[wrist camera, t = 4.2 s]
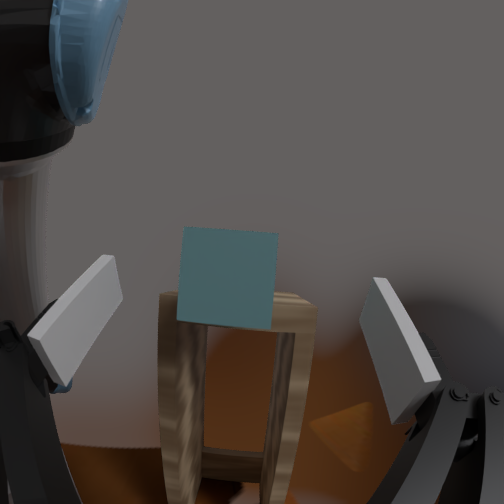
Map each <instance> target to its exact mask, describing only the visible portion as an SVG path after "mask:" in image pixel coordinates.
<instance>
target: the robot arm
mask: <svg viewBox="0 0 504 504" xmlns="http://www.w3.org/2000/svg"><path fill="white" fill-rule="evenodd" d="M127 4H128V0H0V504H9V497H8V483H9V487H10V491H11V495H12V499H13V503H14V504H81V501H80V499H79V497H78V494H77V492H76V489H75V487H74V484H73V481H72V479H71V476H70V473H69V470H68V467H67V464H66V461H65V458H64V455H63V451H62V448H61V444H60V441H59V437H58V433H57V429H56V425H55V421H54V416H53V411H52V406H51V401H50V395H49V393H51V394H55V393H66V392H68V391H70V389H71V387H72V377H73V375H74V373H75V371H76V370H77V368H78V366H79V365H80V363H81V362H82V360H83V358H84V357H85V355H86V354H87V352H88V350H89V349H90V347H91V346H92V344H93V342H94V341H95V340H96V338H97V337H98V335H99V333H100V332H101V330H102V329H103V327H104V326H105V325H106V323H107V321H108V320H109V319H110V317H111V316H112V314H113V313H114V311H115V310H116V308H117V307H118V305H119V304H120V303H121V301H122V300H123V297H122V293H121V287H120V283H119V278H118V273H117V268H116V262H115V257H114V256H111V255H102V256H101V257H100V258H99V259H98V260H96V261H95V262H94V263H93V264H92V265H91V266H90V267H89V268H88V269H87V270H86V271H85V272H84V273H83V274H82V275H81V276H80V277H79V278H78V279H77V280H76V281H75V282H74V284H72V285H71V287H70V288H69V289H68V290H67V291H66V292H65V293H64V294H63V295H62V296H61V297H60V298H59V299H56V300H54V301H53V302H51V303H50V304H49V299H48V289H47V275H46V241H45V240H46V211H47V196H48V185H49V176H50V169H51V162H52V158H53V157H54V156H55V155H56V154H58V153H59V152H61V151H62V150H63V149H64V148H66V147H67V146H68V145H69V144H70V143H71V141H72V138H73V134H74V129H75V126H81V125H82V124H88V123H90V122H91V121H92V120H93V119H94V117H95V115H96V112H97V110H98V107H99V103H100V100H101V96H102V91H103V87H104V83H105V81H106V78H107V74H108V71H109V67H110V64H111V60H112V57H113V53H114V49H115V46H116V42H117V39H118V35H119V32H120V29H121V25H122V22H123V18H124V15H125V11H126V8H127ZM359 322H360V325H361V328H362V330H363V333H364V336H365V339H366V342H367V345H368V348H369V351H370V354H371V357H372V360H373V363H374V366H375V369H376V372H377V375H378V379H379V382H380V385H381V388H382V392H383V395H384V399H385V402H386V405H387V409H388V413H389V416H390V420H391V424H392V425H393V424H399V423H404V422H408V421H409V420H410V419H411V417H412V416H413V415H414V414H415V416H416V419H417V421H416V422H415V423H414V424H413V426H411V427H410V429H408V431H407V432H406V433H405V435H407V434H408V433H409V432H410V433H409V435H408V437H407V439H406V441H405V442H404V445H403V446H402V448H401V450H400V452H399V454H398V455H397V457H396V459H395V461H394V462H393V464H392V466H391V468H390V469H389V471H388V473H387V474H386V476H385V477H384V479H383V481H382V482H381V484H380V485H379V487H378V488H377V490H376V491H375V493H374V494H373V496H372V497H371V498H370V500H369V501H368V502H367V504H434V503H435V501H436V499H437V497H438V495H439V492H440V490H441V488H442V490H441V494H440V498H439V502H438V504H504V394H503V392H502V391H501V390H500V389H499V388H497V387H495V386H490V387H488V388H486V390H485V391H484V392H483V393H482V394H474V393H469V391H468V389H467V388H466V387H465V386H464V385H463V384H461V383H459V382H453V380H452V378H451V376H450V374H449V372H448V370H447V368H446V366H445V364H444V362H443V360H442V358H441V357H440V354H439V352H438V351H437V350H436V347H435V345H434V343H433V341H432V340H431V339H430V338H429V337H428V336H427V335H426V334H425V333H418V332H417V330H416V328H415V327H414V325H413V323H412V321H411V319H410V317H409V316H408V314H407V312H406V311H405V309H404V307H403V305H402V304H401V302H400V300H399V299H398V297H397V295H396V293H395V292H394V290H393V289H392V287H391V285H390V284H389V282H388V280H387V279H386V278H373V279H372V282H371V285H370V289H369V292H368V295H367V298H366V301H365V304H364V307H363V310H362V313H361V316H360V319H359ZM477 434H478V440H477ZM7 479H8V480H7Z"/></svg>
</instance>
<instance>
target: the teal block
mask: <svg viewBox="0 0 504 504" xmlns="http://www.w3.org/2000/svg"><path fill="white" fill-rule="evenodd" d="M277 246H278V233H266V232H254V231H239V230H225V229H212V228H197V227H184V231H183V241H182V252H181V263H180V274H179V288H178V303H177V320H180V321H188V322H196V323H204V324H213V325H223V326H233V327H244V328H256V329H270V330H271V320H272V309H273V298H274V285H275V273H276V260H277Z"/></svg>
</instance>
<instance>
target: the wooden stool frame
mask: <svg viewBox="0 0 504 504" xmlns="http://www.w3.org/2000/svg"><path fill="white" fill-rule="evenodd" d="M177 303H178V290H175V291H170V292H165V293H161V294H160V296H159V317H158V404H159V425H160V439H161V451H162V461H163V471H164V479H165V487H166V494H167V500H168V504H195V500H196V497H197V493H198V490H199V486H200V483H201V479H202V477H203V478H210V479H218V480H226V481H236V482H251V483H260V504H284V501H285V498H286V494H287V490H288V486H289V481H290V477H291V473H292V469H293V464H294V460H295V455H296V450H297V445H298V440H299V435H300V430H301V425H302V419H303V414H304V408H305V402H306V396H307V390H308V383H309V377H310V369H311V362H312V355H313V347H314V339H315V329H316V321H317V311H318V308H317V307H316V306H314V305H312V304H311V303H309V302H308V301H306V300H304V299H302V298H301V297H299V296H297V295H296V294H294V293H289V292H276V291H274V298H273V309H272V320H271V330H270V329H256V328H244V327H233V326H223V325H213V324H204V323H196V322H188V321H180V320H177ZM208 326H215V327H224V328H235V329H246V330H259V331H273V332H277V342H276V352H275V362H274V371H273V380H272V388H271V397H270V405H269V413H268V421H267V429H266V436H265V444H264V451H263V452H249V451H236V450H226V449H219V448H211V447H204V441H203V440H204V439H203V438H204V398H205V371H206V350H207V332H208Z"/></svg>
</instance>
